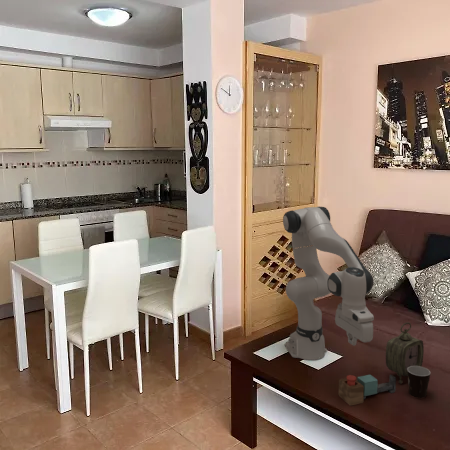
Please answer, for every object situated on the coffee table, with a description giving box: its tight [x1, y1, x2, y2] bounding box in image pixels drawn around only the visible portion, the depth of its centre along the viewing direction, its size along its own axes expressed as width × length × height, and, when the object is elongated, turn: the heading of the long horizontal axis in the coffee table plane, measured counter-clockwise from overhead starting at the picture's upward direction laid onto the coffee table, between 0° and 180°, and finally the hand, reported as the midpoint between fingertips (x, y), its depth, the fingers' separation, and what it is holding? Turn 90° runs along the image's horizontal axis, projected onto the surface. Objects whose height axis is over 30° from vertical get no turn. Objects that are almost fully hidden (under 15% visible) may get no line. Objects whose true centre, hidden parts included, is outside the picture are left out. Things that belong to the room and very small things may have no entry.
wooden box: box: [338, 377, 364, 407], centre depth 184 cm, size 8×6×7 cm
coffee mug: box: [407, 366, 431, 399], centre depth 185 cm, size 12×9×10 cm
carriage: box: [356, 374, 379, 397], centre depth 186 cm, size 5×6×6 cm
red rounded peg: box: [346, 374, 357, 386], centre depth 183 cm, size 4×4×6 cm
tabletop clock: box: [385, 322, 425, 384], centre depth 199 cm, size 14×9×25 cm, turn 123°
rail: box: [363, 374, 397, 400], centre depth 188 cm, size 4×17×6 cm, turn 109°
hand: (352, 343), depth 181 cm, fingers closed
